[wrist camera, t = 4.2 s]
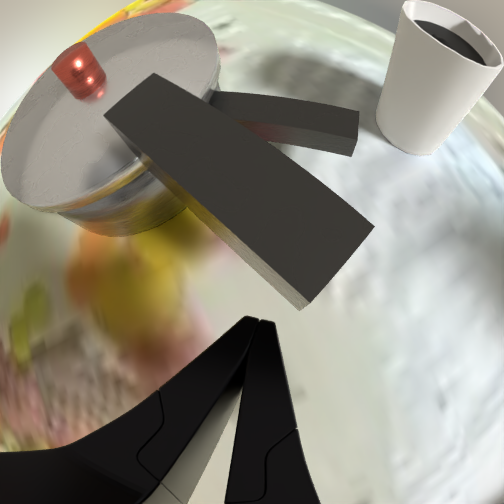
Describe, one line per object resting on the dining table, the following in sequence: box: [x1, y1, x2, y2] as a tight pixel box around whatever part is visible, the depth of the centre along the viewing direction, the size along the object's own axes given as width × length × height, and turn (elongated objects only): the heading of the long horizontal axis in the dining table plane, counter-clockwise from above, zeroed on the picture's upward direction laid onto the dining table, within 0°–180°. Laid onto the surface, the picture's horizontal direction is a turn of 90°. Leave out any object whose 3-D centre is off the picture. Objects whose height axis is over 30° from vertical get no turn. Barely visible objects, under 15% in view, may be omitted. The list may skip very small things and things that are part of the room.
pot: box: [57, 82, 359, 237], centre depth 17 cm, size 15×27×6 cm, turn 76°
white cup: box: [376, 0, 504, 156], centre depth 14 cm, size 7×7×10 cm
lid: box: [1, 13, 375, 311], centre depth 11 cm, size 16×25×4 cm, turn 46°
